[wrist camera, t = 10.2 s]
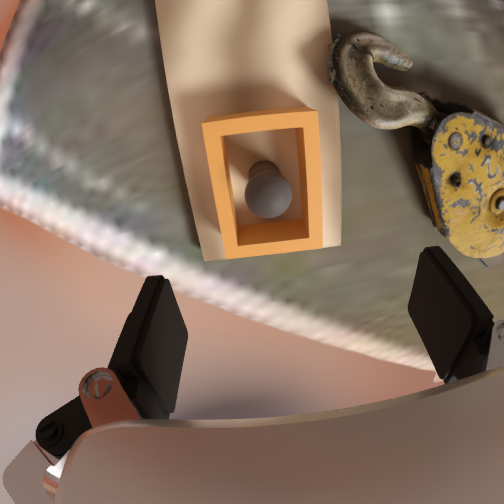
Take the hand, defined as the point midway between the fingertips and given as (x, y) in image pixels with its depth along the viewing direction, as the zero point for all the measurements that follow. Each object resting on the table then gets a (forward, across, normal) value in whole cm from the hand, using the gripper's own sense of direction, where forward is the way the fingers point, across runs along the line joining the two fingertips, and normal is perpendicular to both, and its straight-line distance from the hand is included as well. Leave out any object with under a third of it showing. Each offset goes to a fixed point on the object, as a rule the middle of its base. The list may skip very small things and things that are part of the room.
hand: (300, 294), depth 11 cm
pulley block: (+16, -17, -1) cm, 23 cm away
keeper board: (+15, +1, -8) cm, 17 cm away
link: (+14, +1, 0) cm, 14 cm away
